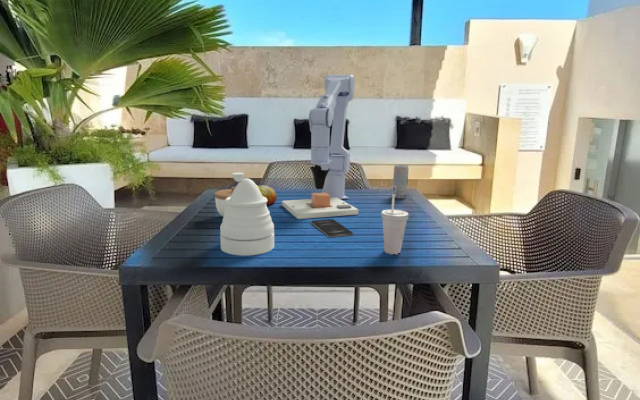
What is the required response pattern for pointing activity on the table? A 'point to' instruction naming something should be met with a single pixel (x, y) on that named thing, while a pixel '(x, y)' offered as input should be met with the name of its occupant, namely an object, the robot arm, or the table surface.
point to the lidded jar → (222, 199)
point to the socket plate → (304, 210)
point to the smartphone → (331, 228)
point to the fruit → (268, 194)
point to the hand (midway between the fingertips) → (319, 188)
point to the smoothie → (393, 228)
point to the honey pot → (246, 220)
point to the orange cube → (320, 200)
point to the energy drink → (400, 181)
